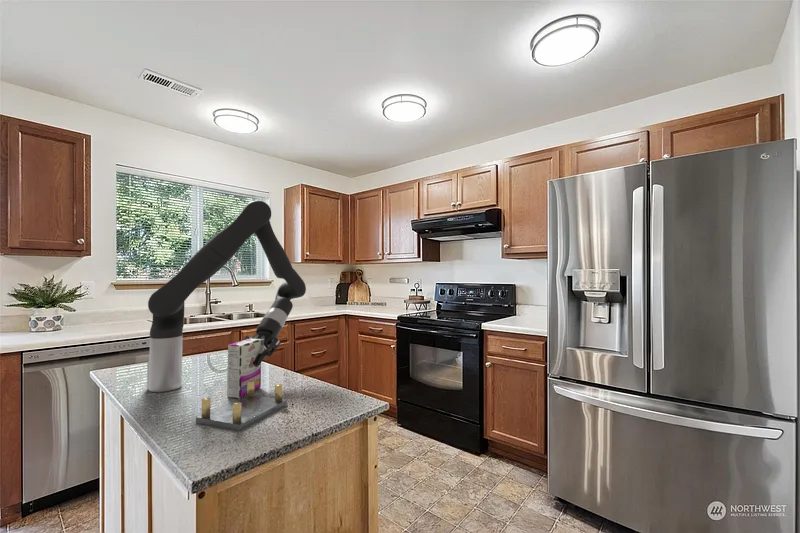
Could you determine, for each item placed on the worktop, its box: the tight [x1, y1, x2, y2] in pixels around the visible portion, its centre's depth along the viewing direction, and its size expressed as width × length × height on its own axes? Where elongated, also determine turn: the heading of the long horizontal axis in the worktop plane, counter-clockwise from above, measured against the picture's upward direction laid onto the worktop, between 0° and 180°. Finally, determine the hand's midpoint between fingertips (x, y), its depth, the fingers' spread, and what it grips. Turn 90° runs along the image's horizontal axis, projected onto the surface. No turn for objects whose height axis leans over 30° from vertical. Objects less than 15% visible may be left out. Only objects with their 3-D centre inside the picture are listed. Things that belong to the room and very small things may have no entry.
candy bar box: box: [226, 338, 262, 399], centre depth 116 cm, size 11×5×16 cm, turn 168°
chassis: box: [195, 381, 288, 432], centre depth 99 cm, size 14×18×6 cm
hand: (247, 364), depth 118 cm, fingers closed on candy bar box, 5 cm apart
